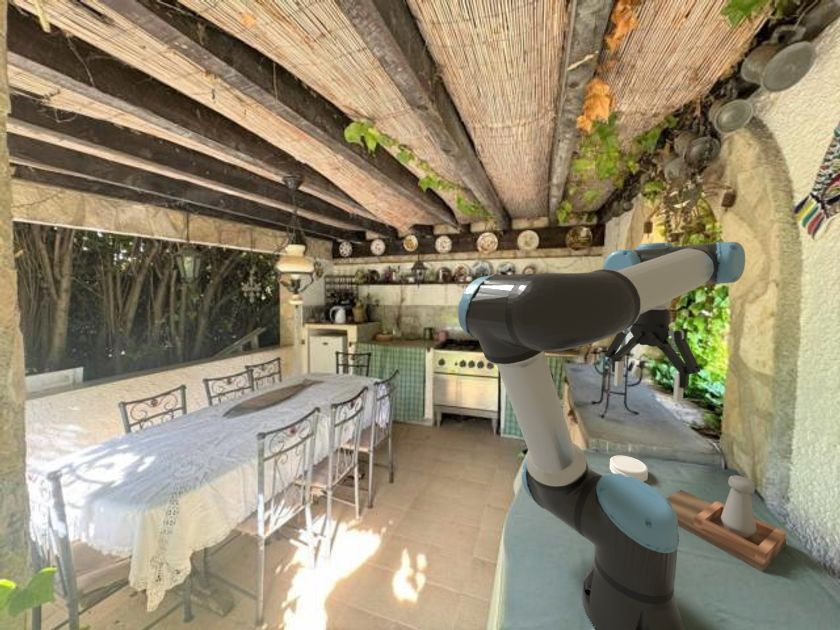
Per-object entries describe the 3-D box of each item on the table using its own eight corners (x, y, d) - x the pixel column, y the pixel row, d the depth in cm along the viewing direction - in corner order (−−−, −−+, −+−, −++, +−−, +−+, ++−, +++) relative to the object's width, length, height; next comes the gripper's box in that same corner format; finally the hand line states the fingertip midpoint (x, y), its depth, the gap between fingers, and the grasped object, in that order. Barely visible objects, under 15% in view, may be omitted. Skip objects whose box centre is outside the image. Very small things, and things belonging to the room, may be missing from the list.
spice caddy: (762, 571, 66) (764, 556, 65) (653, 511, 83) (654, 499, 83) (785, 545, 72) (787, 530, 72) (680, 494, 90) (681, 482, 90)
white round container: (654, 477, 99) (654, 466, 98) (637, 487, 94) (637, 476, 93) (620, 461, 107) (620, 451, 107) (602, 470, 102) (603, 460, 102)
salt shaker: (763, 542, 71) (768, 487, 70) (736, 542, 71) (741, 487, 70) (737, 523, 77) (742, 471, 76) (713, 522, 77) (717, 471, 76)
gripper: (724, 310, 70) (716, 405, 72) (609, 304, 91) (606, 377, 93) (708, 312, 66) (700, 412, 68) (593, 305, 88) (589, 381, 90)
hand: (646, 392), depth 81 cm, fingers open, 13 cm apart
